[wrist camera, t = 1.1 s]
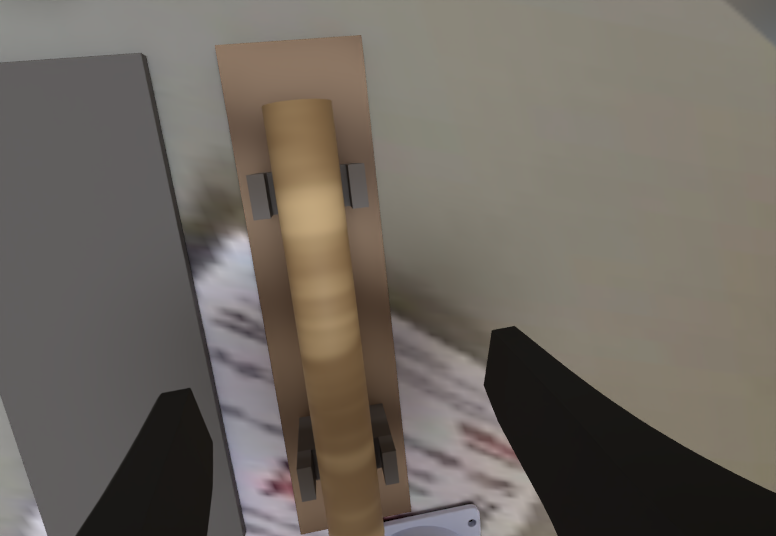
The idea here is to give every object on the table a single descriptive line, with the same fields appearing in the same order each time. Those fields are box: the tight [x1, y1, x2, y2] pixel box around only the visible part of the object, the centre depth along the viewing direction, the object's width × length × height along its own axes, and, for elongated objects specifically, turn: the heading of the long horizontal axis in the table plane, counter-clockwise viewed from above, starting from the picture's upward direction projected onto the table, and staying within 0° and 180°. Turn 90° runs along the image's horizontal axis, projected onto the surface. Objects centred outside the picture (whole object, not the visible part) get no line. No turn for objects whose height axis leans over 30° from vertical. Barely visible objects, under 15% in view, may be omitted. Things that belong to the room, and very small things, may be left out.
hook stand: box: [215, 35, 411, 534], centre depth 20 cm, size 24×6×5 cm, turn 6°
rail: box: [262, 99, 385, 536], centre depth 18 cm, size 18×2×2 cm, turn 6°
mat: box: [0, 53, 246, 536], centre depth 21 cm, size 24×9×1 cm, turn 6°
